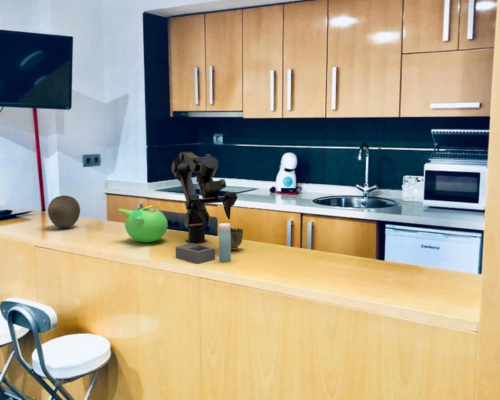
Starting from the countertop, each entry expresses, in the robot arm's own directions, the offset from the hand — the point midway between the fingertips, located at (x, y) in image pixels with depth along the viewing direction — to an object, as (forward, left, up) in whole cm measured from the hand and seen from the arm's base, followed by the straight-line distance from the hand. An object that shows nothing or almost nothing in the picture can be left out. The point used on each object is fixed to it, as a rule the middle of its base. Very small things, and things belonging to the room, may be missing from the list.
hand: (217, 220), depth 191 cm
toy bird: (-38, -5, -13) cm, 40 cm away
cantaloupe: (-88, -14, -13) cm, 90 cm away
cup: (-1, +9, -13) cm, 16 cm away
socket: (-3, -8, -13) cm, 16 cm away
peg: (+7, -3, -13) cm, 15 cm away
